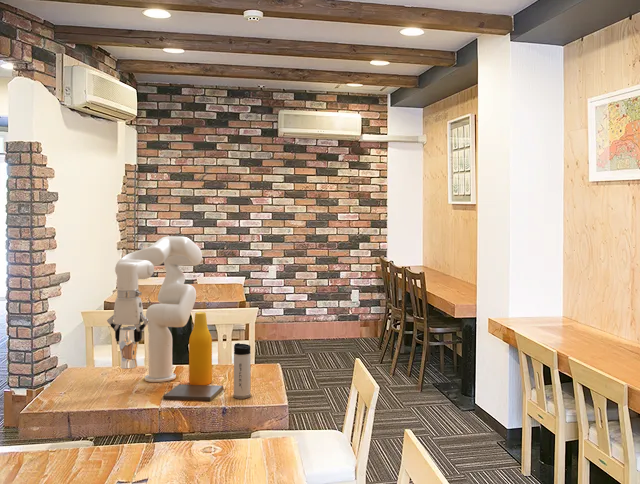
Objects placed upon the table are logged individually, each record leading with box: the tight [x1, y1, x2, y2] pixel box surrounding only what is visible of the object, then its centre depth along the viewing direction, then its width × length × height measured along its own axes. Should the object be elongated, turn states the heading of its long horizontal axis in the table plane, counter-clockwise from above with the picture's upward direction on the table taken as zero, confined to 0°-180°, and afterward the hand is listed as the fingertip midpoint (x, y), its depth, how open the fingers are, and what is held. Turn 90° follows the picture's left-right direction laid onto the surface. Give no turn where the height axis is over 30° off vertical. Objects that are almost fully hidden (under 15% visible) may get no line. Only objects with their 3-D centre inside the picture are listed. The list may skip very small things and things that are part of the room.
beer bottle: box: [188, 311, 213, 385], centre depth 261 cm, size 9×9×29 cm
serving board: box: [162, 383, 224, 402], centre depth 246 cm, size 16×18×2 cm
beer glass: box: [118, 326, 139, 370], centre depth 243 cm, size 7×7×15 cm
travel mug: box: [233, 342, 252, 400], centre depth 243 cm, size 6×7×20 cm
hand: (128, 340), depth 242 cm, fingers closed on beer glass, 7 cm apart
